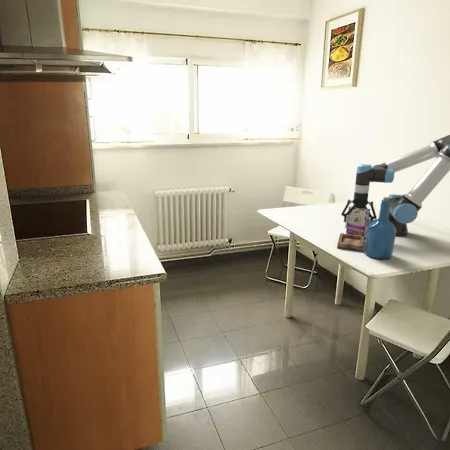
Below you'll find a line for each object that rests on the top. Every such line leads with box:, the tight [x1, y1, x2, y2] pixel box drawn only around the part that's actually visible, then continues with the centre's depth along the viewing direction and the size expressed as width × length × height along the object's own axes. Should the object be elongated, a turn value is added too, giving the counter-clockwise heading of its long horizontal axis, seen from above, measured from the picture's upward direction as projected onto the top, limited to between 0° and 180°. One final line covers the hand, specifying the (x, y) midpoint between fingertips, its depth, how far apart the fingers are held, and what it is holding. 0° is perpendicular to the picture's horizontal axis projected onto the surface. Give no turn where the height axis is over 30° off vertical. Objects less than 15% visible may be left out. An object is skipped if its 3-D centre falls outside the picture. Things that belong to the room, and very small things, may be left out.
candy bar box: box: [345, 205, 371, 239], centre depth 220 cm, size 11×5×16 cm, turn 44°
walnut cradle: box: [336, 232, 365, 252], centre depth 207 cm, size 12×18×3 cm
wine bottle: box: [364, 196, 397, 260], centre depth 188 cm, size 14×13×30 cm
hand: (357, 228), depth 221 cm, fingers closed on candy bar box, 12 cm apart
